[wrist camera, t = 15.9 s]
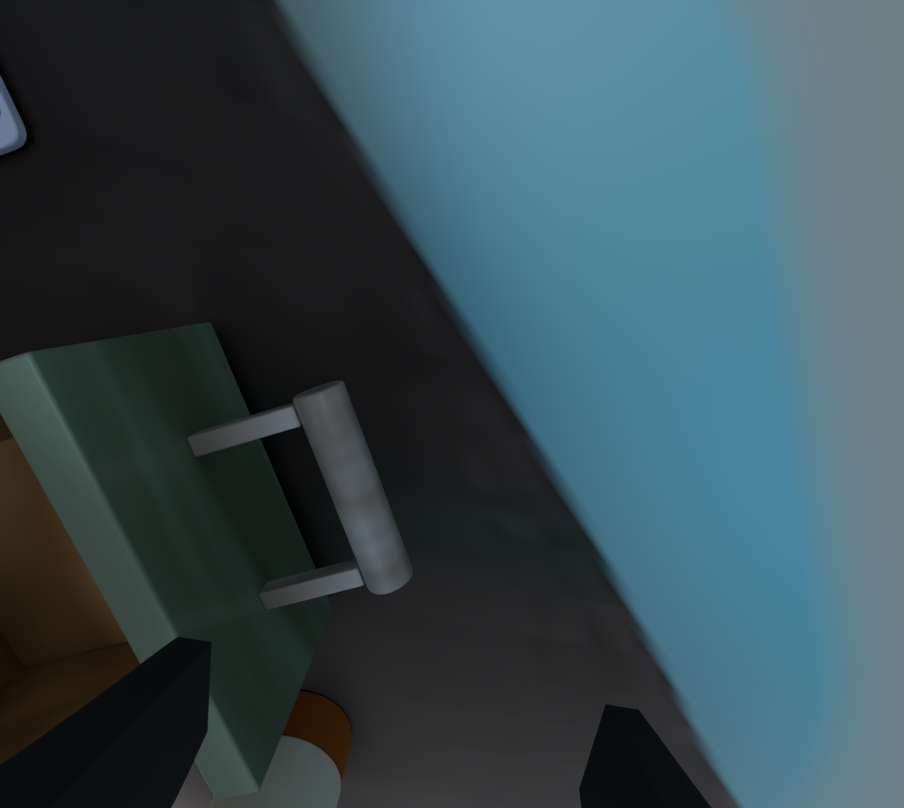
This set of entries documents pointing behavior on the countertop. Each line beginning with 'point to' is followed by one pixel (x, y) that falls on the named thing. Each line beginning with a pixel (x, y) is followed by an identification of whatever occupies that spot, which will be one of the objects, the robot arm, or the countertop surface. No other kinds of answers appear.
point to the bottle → (304, 759)
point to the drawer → (169, 537)
